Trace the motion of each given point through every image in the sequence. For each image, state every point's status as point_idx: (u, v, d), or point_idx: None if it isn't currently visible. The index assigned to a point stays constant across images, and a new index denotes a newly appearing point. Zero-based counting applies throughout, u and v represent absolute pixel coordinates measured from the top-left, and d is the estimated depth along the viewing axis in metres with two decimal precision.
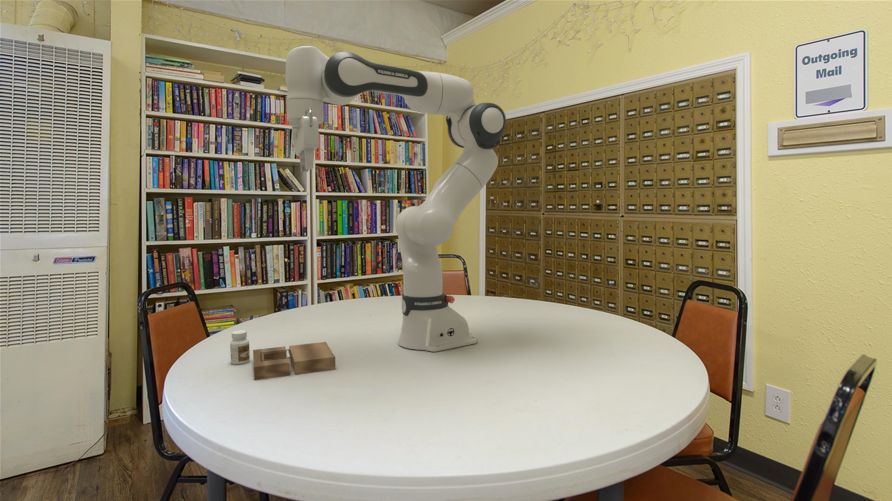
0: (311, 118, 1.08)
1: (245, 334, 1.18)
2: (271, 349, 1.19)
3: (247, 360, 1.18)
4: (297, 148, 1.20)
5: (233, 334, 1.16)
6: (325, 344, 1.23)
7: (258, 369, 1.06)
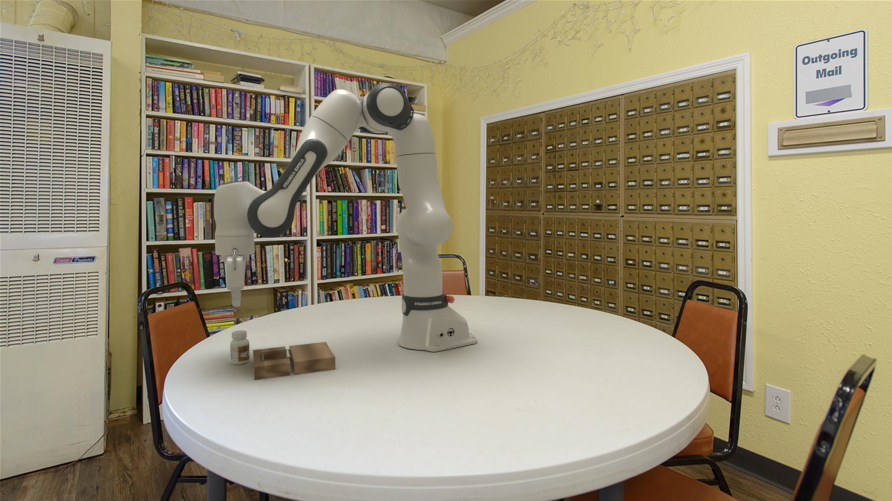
0: (235, 262, 1.07)
1: (245, 334, 1.18)
2: (271, 349, 1.19)
3: (247, 360, 1.18)
4: None
5: (233, 334, 1.16)
6: (325, 344, 1.23)
7: (258, 369, 1.06)
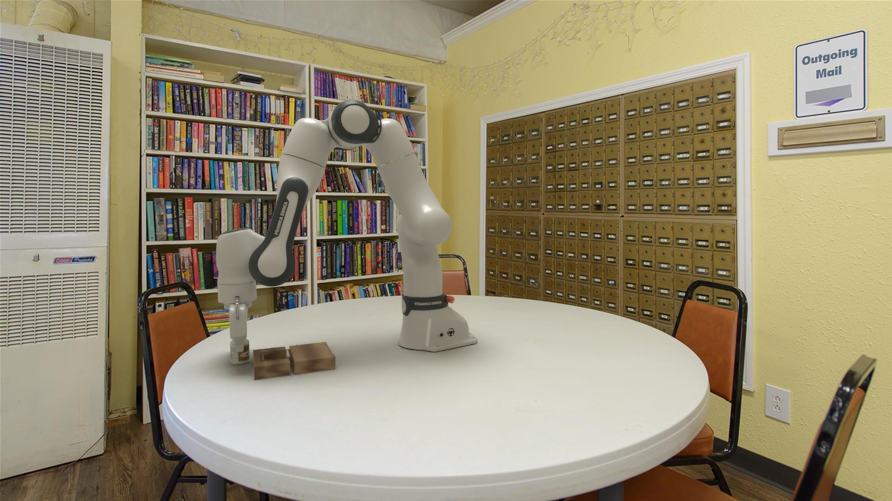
0: (237, 312, 1.08)
1: None
2: (271, 349, 1.19)
3: (247, 360, 1.18)
4: None
5: None
6: (325, 344, 1.23)
7: (258, 369, 1.06)
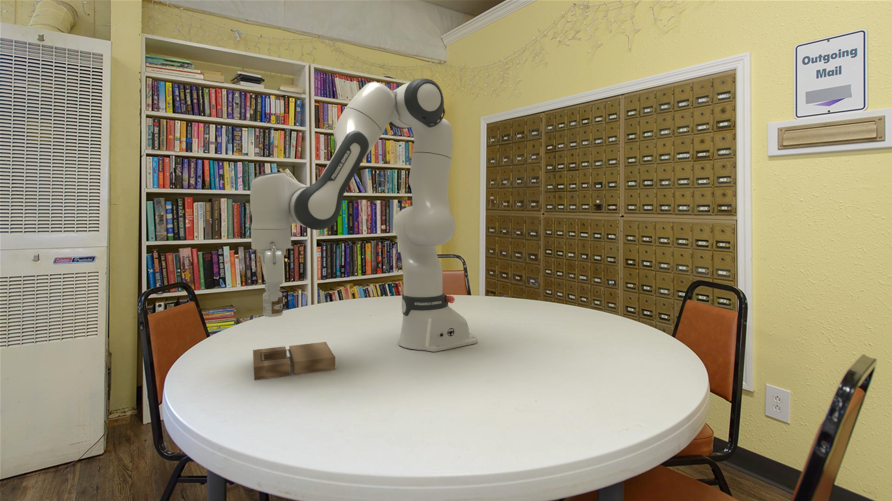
0: (274, 256, 1.02)
1: (279, 286, 1.12)
2: (271, 349, 1.19)
3: (280, 313, 1.12)
4: None
5: (266, 285, 1.11)
6: (325, 344, 1.23)
7: (258, 369, 1.06)
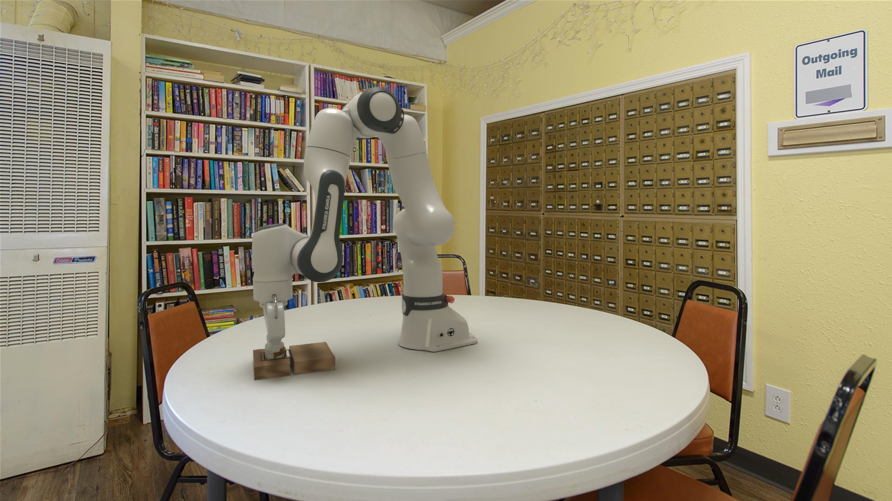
0: (276, 311, 1.04)
1: None
2: None
3: None
4: None
5: None
6: (325, 344, 1.23)
7: (258, 369, 1.06)
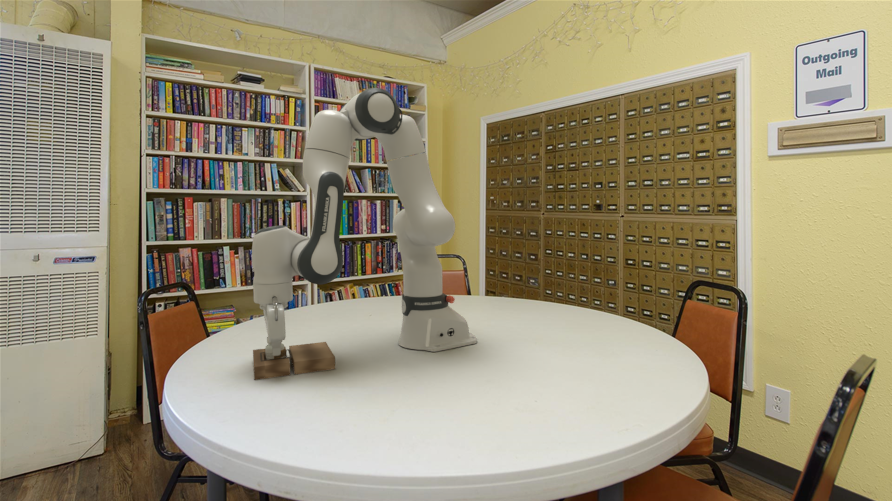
0: (276, 313, 1.04)
1: None
2: None
3: None
4: None
5: None
6: (325, 344, 1.23)
7: (258, 369, 1.06)
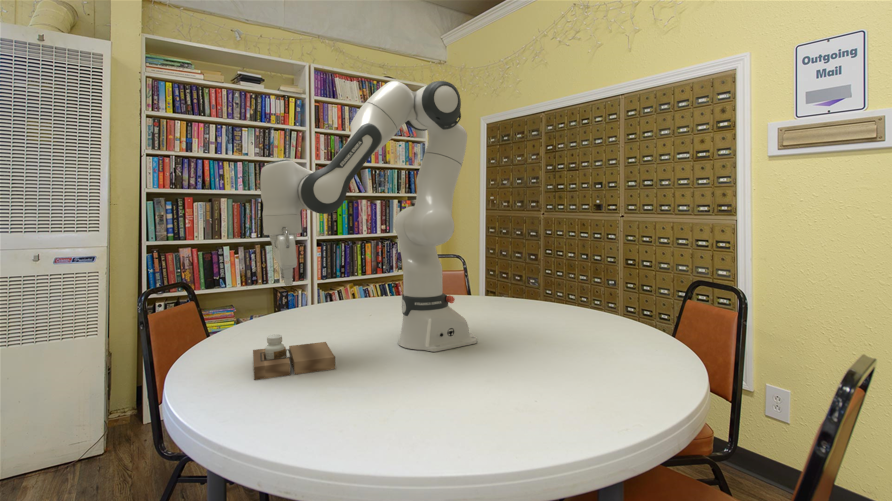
0: (287, 240, 1.07)
1: (281, 338, 1.14)
2: None
3: None
4: (276, 258, 1.19)
5: (269, 339, 1.12)
6: (325, 344, 1.23)
7: (258, 369, 1.06)
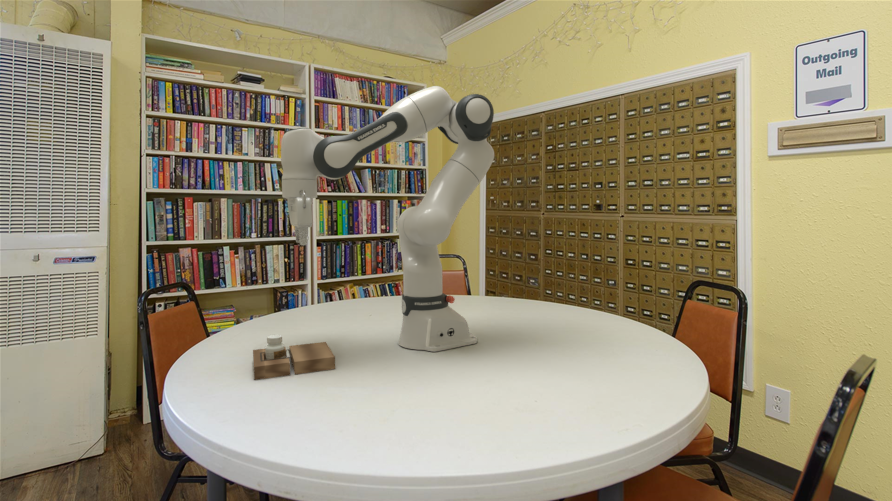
0: (305, 201, 1.15)
1: (281, 338, 1.14)
2: None
3: None
4: (292, 221, 1.27)
5: (269, 339, 1.12)
6: (325, 344, 1.23)
7: (258, 369, 1.06)
